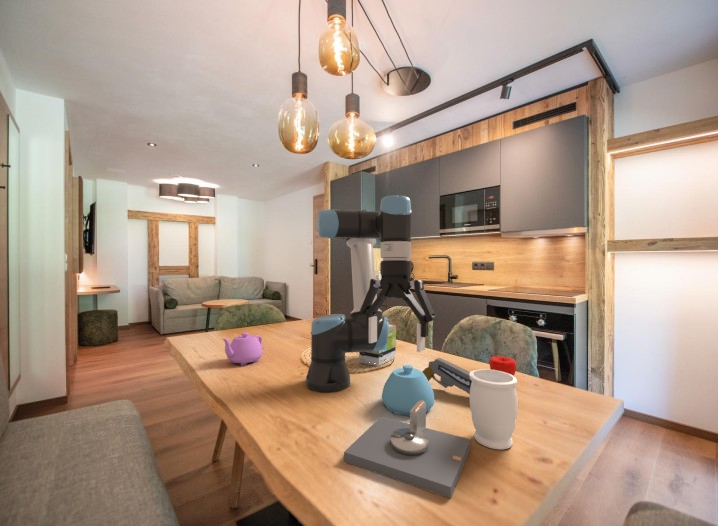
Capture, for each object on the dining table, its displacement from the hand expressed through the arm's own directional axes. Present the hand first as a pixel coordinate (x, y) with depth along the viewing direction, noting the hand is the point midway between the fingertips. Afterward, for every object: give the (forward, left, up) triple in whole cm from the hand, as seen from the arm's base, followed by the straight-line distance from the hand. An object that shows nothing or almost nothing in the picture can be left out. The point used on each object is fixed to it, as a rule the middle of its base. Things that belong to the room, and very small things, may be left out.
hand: (395, 346), depth 80 cm
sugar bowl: (-3, +15, -21) cm, 26 cm away
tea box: (-30, +51, -21) cm, 63 cm away
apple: (+19, +51, -21) cm, 59 cm away
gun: (+8, +32, -21) cm, 39 cm away
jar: (+21, +7, -21) cm, 31 cm away
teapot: (-78, +21, -21) cm, 83 cm away
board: (+6, -8, -21) cm, 23 cm away
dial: (+6, -5, -19) cm, 20 cm away
